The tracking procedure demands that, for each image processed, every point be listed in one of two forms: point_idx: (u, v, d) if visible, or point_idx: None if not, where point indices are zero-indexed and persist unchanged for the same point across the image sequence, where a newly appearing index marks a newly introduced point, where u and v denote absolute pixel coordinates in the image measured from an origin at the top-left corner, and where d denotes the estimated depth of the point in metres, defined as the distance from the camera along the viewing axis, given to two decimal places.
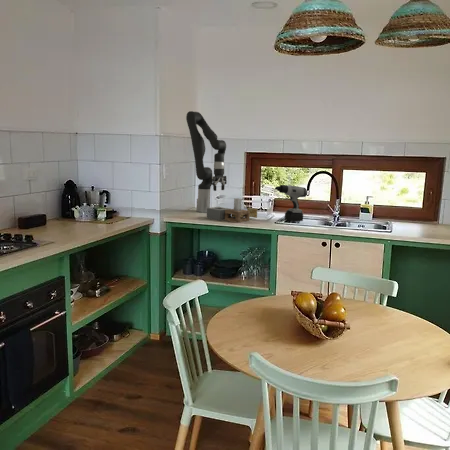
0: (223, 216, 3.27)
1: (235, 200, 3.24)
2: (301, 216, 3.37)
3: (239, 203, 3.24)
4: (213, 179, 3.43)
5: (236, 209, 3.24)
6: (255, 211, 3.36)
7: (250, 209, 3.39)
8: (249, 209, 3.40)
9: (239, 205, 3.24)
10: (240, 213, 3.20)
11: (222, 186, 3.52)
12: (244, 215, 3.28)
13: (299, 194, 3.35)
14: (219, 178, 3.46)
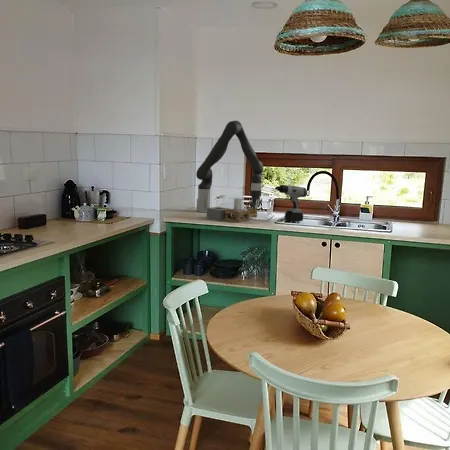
0: (223, 216, 3.27)
1: (235, 200, 3.24)
2: (301, 216, 3.37)
3: (239, 203, 3.24)
4: (252, 204, 3.36)
5: (236, 209, 3.24)
6: (255, 211, 3.36)
7: (250, 209, 3.39)
8: (249, 209, 3.40)
9: (239, 205, 3.24)
10: (240, 213, 3.20)
11: None
12: (244, 215, 3.28)
13: (299, 194, 3.35)
14: (256, 200, 3.38)
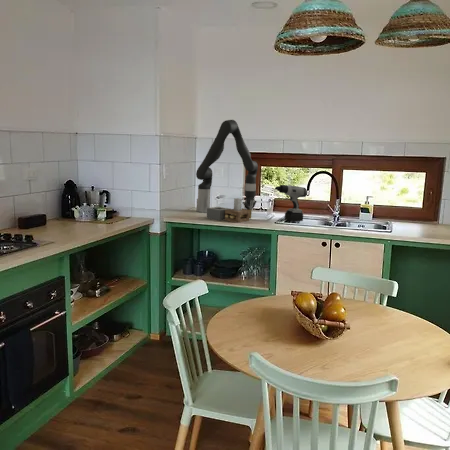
0: (223, 216, 3.27)
1: (235, 200, 3.24)
2: (301, 216, 3.37)
3: (239, 203, 3.24)
4: (246, 205, 3.31)
5: (236, 209, 3.24)
6: None
7: None
8: None
9: (239, 205, 3.24)
10: (240, 213, 3.20)
11: None
12: None
13: (299, 194, 3.35)
14: (250, 201, 3.33)
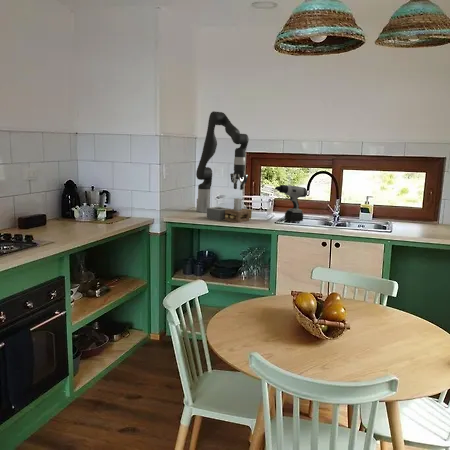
0: (223, 216, 3.27)
1: (235, 200, 3.24)
2: (301, 216, 3.37)
3: (239, 203, 3.24)
4: None
5: (236, 209, 3.24)
6: None
7: None
8: None
9: (239, 205, 3.24)
10: (240, 213, 3.20)
11: None
12: None
13: (299, 194, 3.35)
14: (235, 175, 3.22)
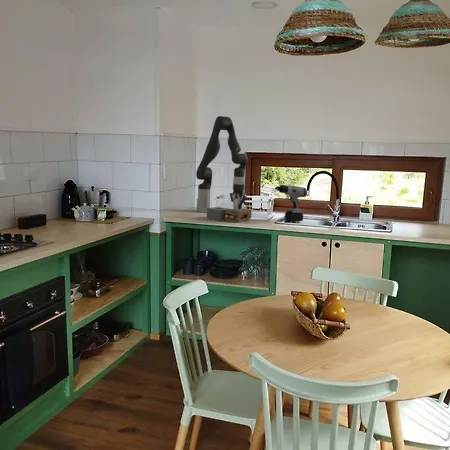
0: (223, 216, 3.27)
1: (235, 200, 3.24)
2: (301, 216, 3.37)
3: None
4: (230, 196, 3.28)
5: (236, 209, 3.24)
6: None
7: None
8: None
9: None
10: (240, 213, 3.20)
11: None
12: None
13: (299, 194, 3.35)
14: (234, 194, 3.24)
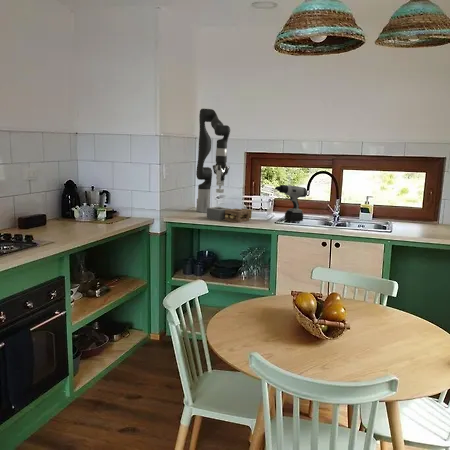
0: (223, 216, 3.27)
1: (218, 172, 3.26)
2: (301, 216, 3.37)
3: None
4: (213, 168, 3.30)
5: (219, 181, 3.27)
6: None
7: None
8: None
9: None
10: (240, 213, 3.20)
11: None
12: None
13: (299, 194, 3.35)
14: (217, 166, 3.26)
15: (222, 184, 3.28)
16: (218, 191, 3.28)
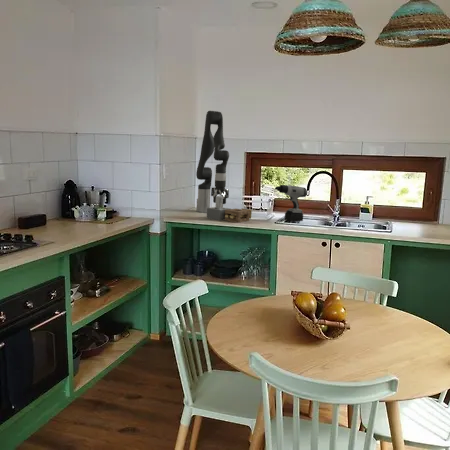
0: (223, 216, 3.27)
1: (217, 198, 3.29)
2: (301, 216, 3.37)
3: (221, 201, 3.29)
4: None
5: (218, 207, 3.30)
6: None
7: None
8: None
9: (221, 203, 3.30)
10: (240, 213, 3.20)
11: None
12: None
13: (299, 194, 3.35)
14: (216, 190, 3.29)
15: None
16: None
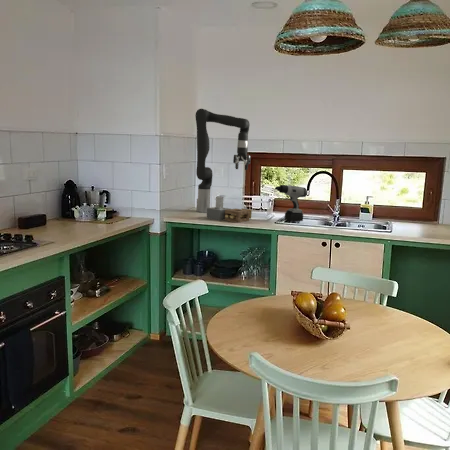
0: (223, 216, 3.27)
1: (217, 198, 3.29)
2: (301, 216, 3.37)
3: (221, 201, 3.29)
4: None
5: (218, 207, 3.30)
6: None
7: None
8: None
9: (221, 203, 3.30)
10: (240, 213, 3.20)
11: None
12: None
13: (299, 194, 3.35)
14: (238, 157, 3.47)
15: None
16: None
